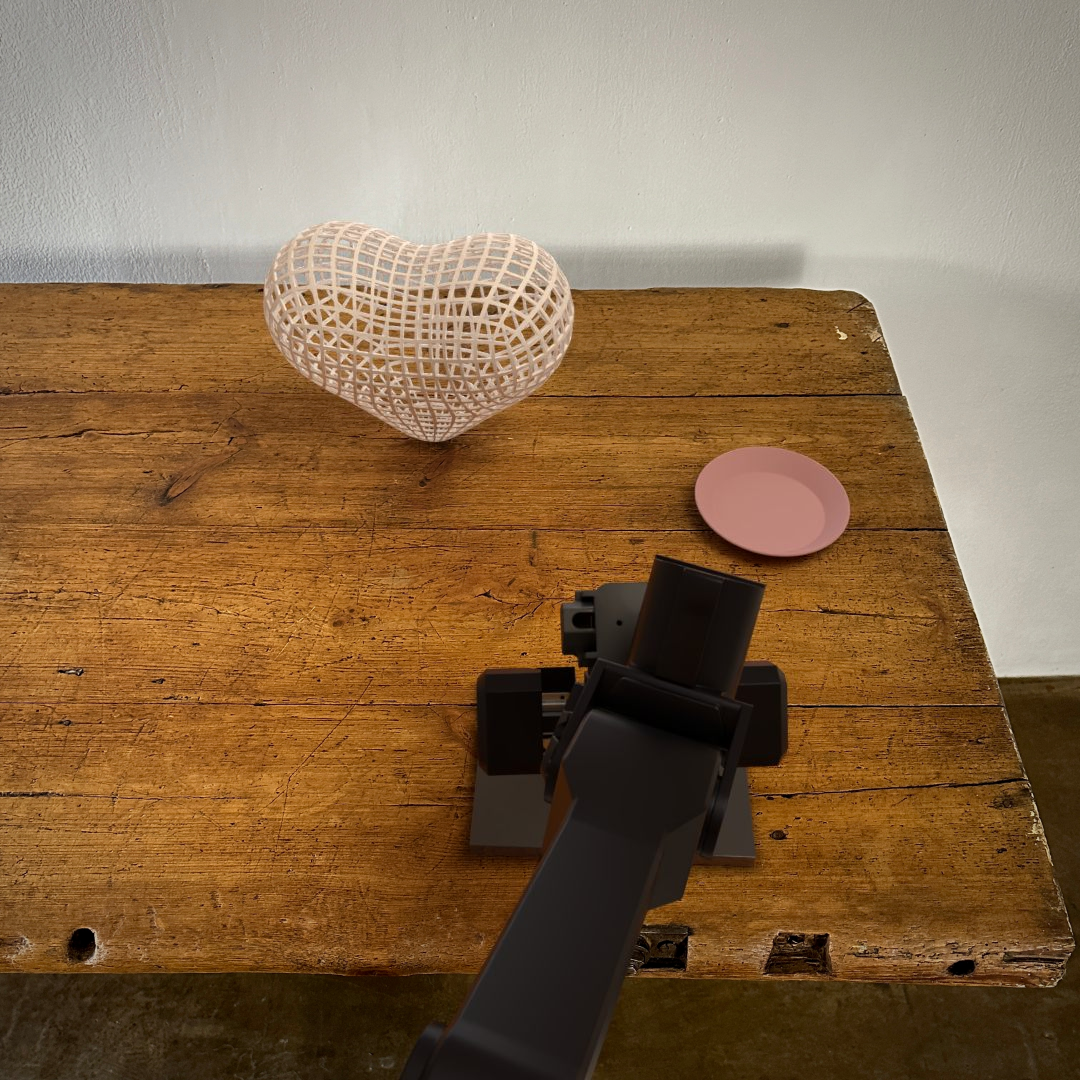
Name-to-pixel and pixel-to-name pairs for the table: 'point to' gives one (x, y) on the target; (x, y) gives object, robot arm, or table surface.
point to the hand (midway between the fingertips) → (615, 690)
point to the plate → (772, 501)
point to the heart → (420, 322)
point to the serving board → (522, 814)
